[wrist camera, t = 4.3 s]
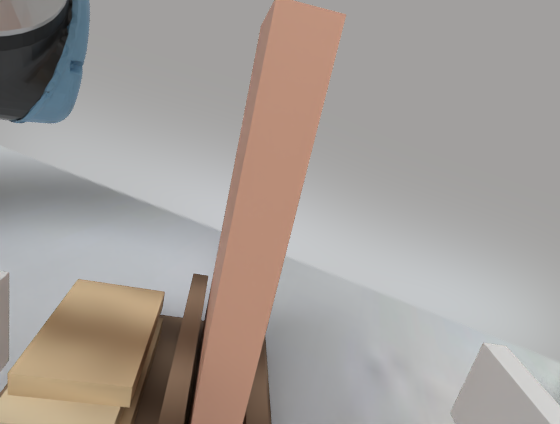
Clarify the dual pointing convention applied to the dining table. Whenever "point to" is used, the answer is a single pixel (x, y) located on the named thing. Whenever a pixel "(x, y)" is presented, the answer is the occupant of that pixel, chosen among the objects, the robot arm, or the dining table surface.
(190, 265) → the dining table surface
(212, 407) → the sheet
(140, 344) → the offcut stack
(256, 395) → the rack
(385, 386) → the dining table surface
